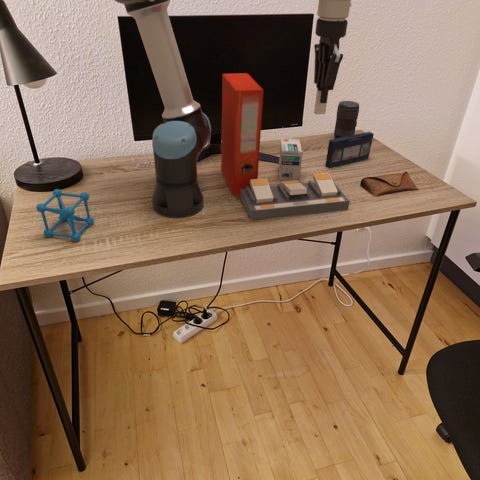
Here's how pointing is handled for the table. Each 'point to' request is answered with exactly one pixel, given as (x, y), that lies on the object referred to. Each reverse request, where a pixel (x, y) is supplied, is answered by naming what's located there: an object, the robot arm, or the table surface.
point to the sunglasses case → (388, 184)
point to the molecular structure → (65, 214)
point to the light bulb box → (290, 159)
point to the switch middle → (294, 187)
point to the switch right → (325, 184)
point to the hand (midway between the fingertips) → (319, 113)
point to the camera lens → (346, 119)
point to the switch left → (261, 190)
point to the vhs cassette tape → (348, 149)
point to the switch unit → (292, 202)
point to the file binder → (240, 130)
